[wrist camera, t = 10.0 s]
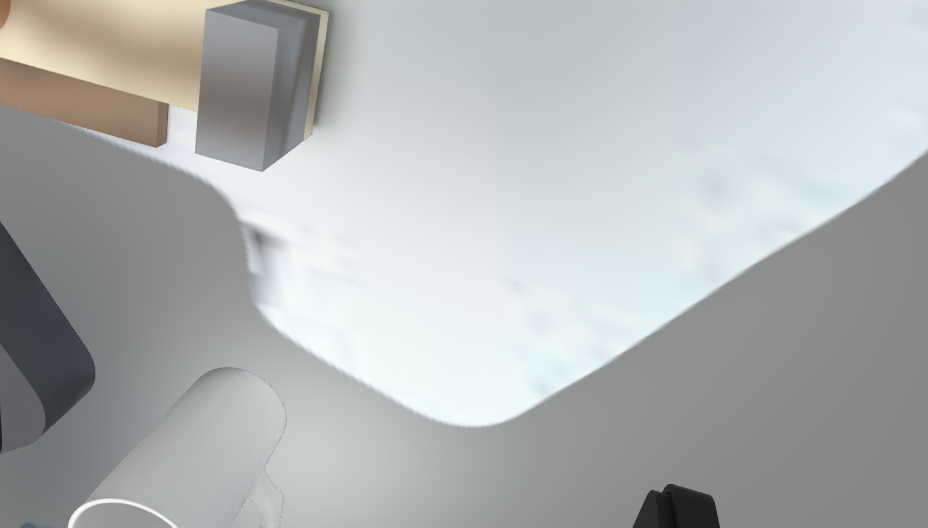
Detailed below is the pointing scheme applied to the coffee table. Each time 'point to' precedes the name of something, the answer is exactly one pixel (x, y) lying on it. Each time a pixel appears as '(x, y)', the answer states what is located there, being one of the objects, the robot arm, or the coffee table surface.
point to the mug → (198, 461)
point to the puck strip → (189, 62)
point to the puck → (4, 11)
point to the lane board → (83, 103)
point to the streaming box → (35, 353)
